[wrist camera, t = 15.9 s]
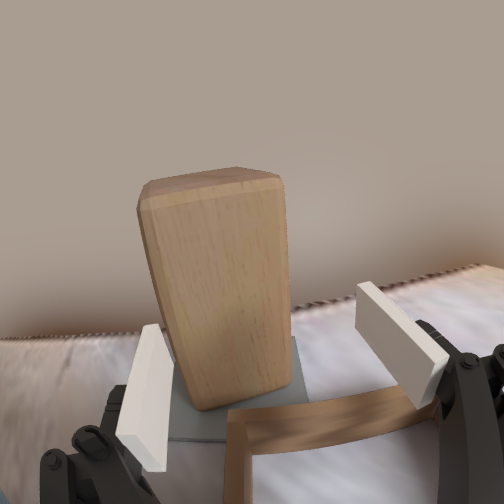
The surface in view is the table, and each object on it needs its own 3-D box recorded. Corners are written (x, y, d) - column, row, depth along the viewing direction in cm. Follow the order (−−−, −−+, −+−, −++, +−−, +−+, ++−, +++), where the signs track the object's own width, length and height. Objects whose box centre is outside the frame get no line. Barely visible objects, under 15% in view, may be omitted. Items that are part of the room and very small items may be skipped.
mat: (157, 438, 21) (155, 435, 21) (181, 347, 34) (180, 343, 34) (313, 434, 21) (314, 431, 20) (294, 339, 34) (294, 336, 34)
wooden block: (260, 334, 35) (243, 165, 27) (295, 388, 26) (288, 171, 18) (181, 354, 32) (140, 181, 25) (196, 417, 23) (132, 196, 16)
